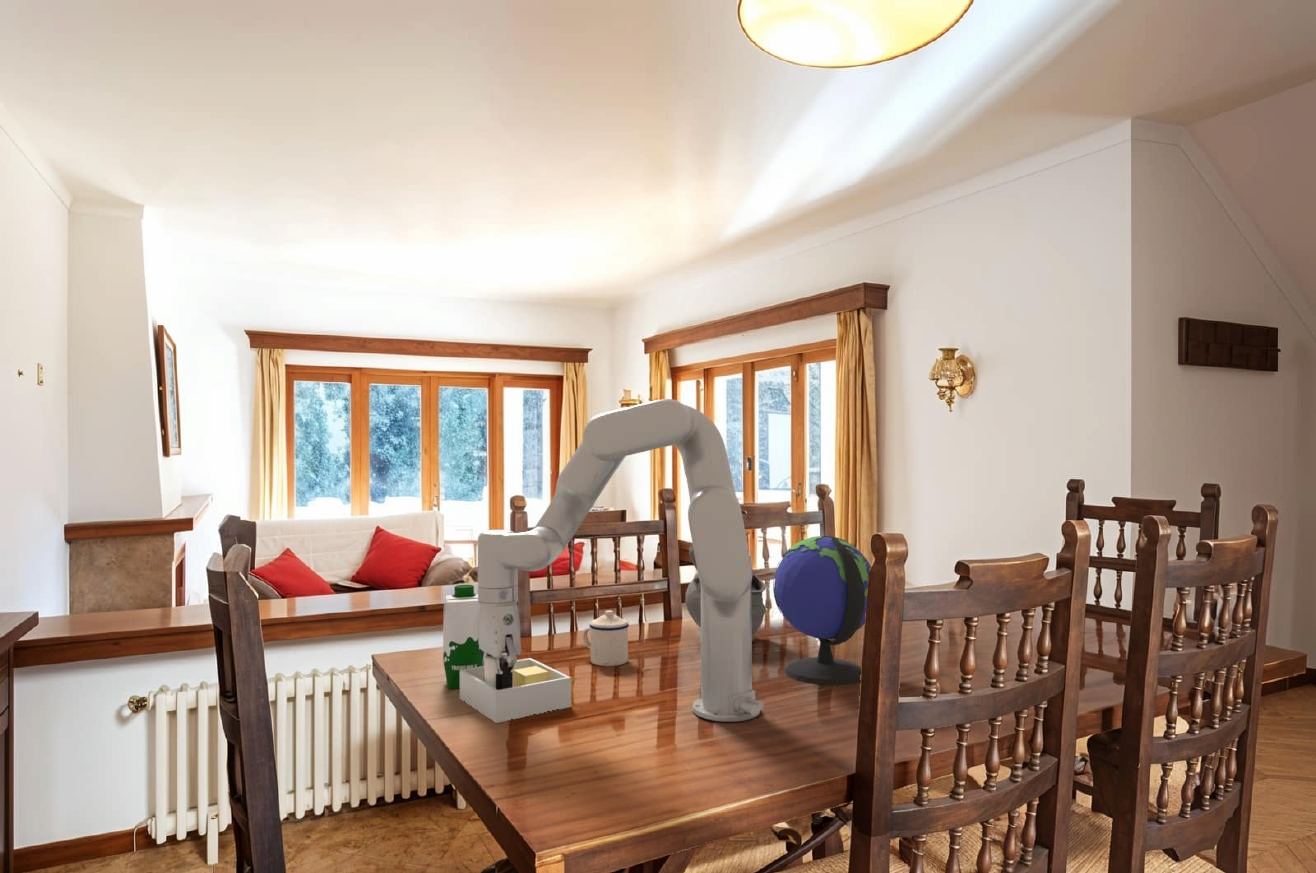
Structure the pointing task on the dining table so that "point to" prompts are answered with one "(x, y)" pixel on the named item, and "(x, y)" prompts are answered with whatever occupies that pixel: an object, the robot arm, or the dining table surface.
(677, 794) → the dining table surface
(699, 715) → the robot arm
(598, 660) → the teacup with lid
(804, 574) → the globe
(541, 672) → the mustard block
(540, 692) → the tote
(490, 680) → the white canister
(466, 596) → the milk carton
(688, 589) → the pot
